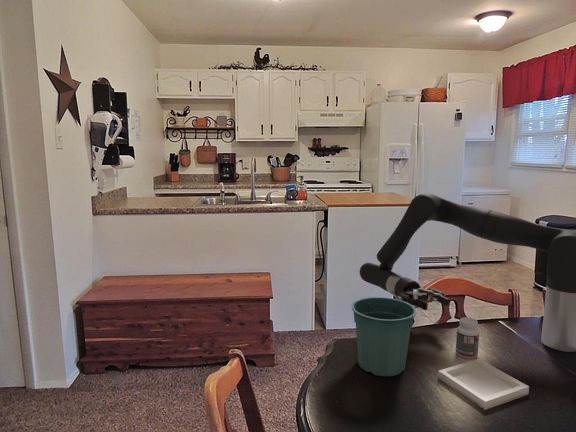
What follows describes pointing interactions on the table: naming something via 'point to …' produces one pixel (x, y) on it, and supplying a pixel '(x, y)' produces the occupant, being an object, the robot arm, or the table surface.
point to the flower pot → (383, 334)
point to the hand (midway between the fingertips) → (437, 304)
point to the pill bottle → (467, 338)
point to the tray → (483, 383)
